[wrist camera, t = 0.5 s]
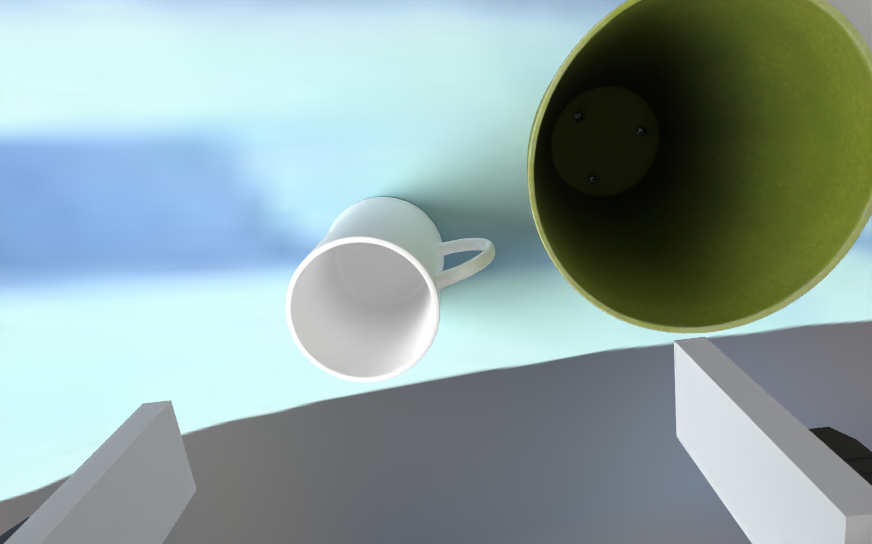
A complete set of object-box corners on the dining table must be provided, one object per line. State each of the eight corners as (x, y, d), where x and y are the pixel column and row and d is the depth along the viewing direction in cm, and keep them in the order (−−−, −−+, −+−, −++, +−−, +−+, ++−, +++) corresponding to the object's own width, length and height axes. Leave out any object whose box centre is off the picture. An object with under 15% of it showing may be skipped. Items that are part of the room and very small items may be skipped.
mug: (477, 175, 41) (490, 203, 29) (498, 292, 43) (519, 360, 31) (311, 209, 41) (260, 249, 30) (341, 322, 44) (304, 399, 32)
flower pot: (765, 117, 39) (972, 124, 24) (620, 291, 43) (719, 395, 27) (590, -25, 37) (695, -119, 22) (452, 170, 41) (457, 208, 25)
